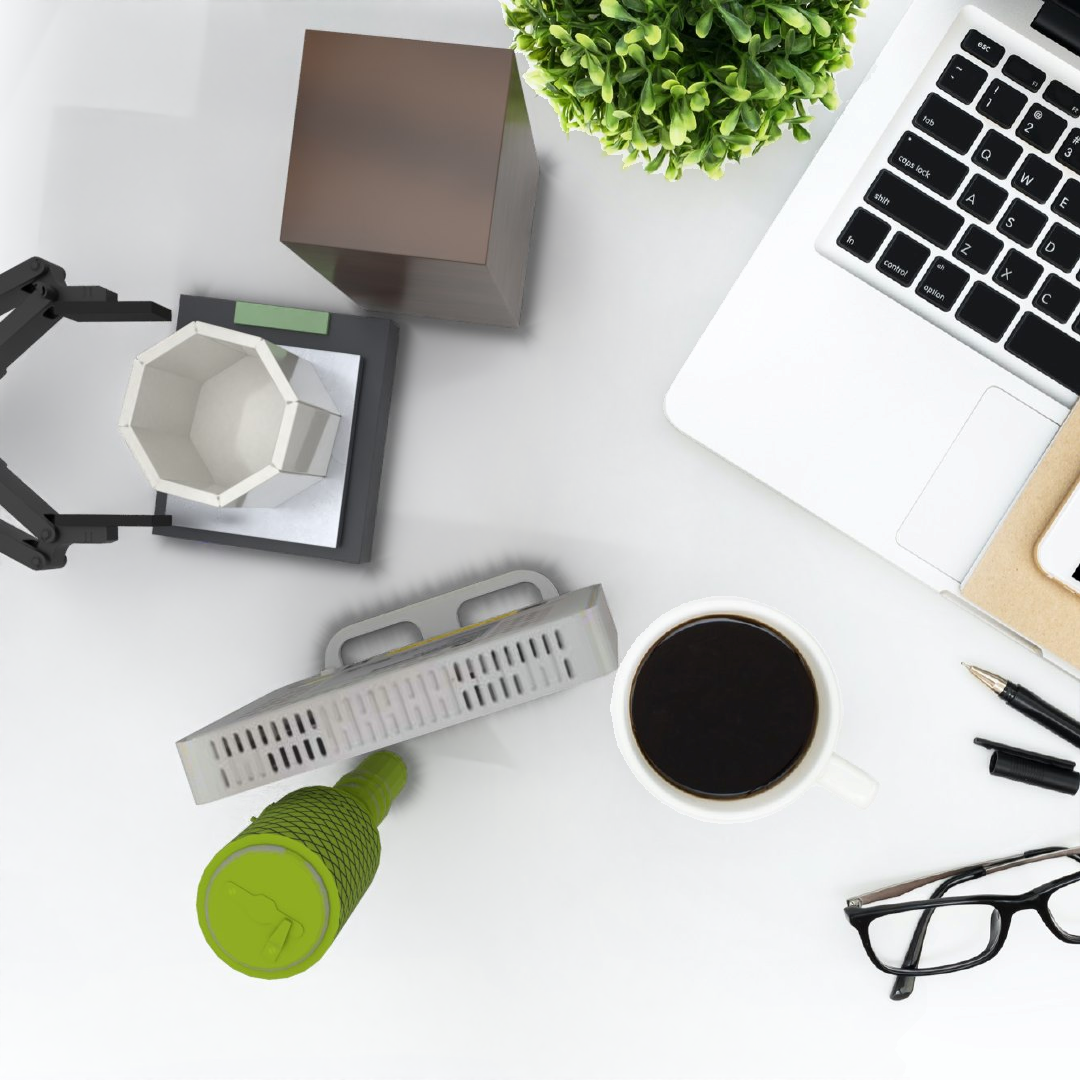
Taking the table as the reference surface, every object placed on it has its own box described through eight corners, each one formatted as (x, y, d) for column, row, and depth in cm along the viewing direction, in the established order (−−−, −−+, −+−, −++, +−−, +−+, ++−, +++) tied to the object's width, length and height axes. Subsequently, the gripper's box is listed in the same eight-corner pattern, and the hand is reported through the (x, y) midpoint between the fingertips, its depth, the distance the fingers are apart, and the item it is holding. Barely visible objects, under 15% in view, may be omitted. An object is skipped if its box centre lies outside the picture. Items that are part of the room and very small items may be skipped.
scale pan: (192, 335, 69) (186, 333, 68) (364, 357, 68) (360, 355, 67) (169, 523, 69) (163, 524, 68) (339, 548, 68) (335, 548, 67)
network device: (312, 755, 72) (198, 848, 52) (277, 649, 72) (148, 701, 52) (626, 655, 70) (631, 712, 50) (589, 545, 70) (580, 558, 50)
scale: (198, 302, 72) (177, 292, 69) (400, 327, 71) (389, 318, 67) (170, 533, 73) (148, 534, 69) (370, 562, 72) (358, 564, 68)
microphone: (450, 756, 71) (363, 887, 47) (402, 840, 72) (291, 1014, 47) (360, 703, 72) (226, 805, 47) (313, 787, 72) (156, 932, 47)
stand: (383, 151, 71) (305, 28, 53) (540, 168, 70) (514, 48, 52) (363, 309, 71) (278, 241, 53) (518, 328, 70) (485, 265, 52)
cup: (208, 334, 68) (146, 307, 59) (352, 372, 67) (311, 350, 58) (172, 481, 68) (105, 476, 59) (314, 520, 67) (268, 521, 58)
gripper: (-103, 244, 66) (188, 240, 64) (-100, 596, 66) (188, 601, 65) (-195, 209, 58) (132, 204, 57) (-190, 607, 59) (133, 613, 57)
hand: (162, 416), depth 61 cm, fingers open, 13 cm apart
